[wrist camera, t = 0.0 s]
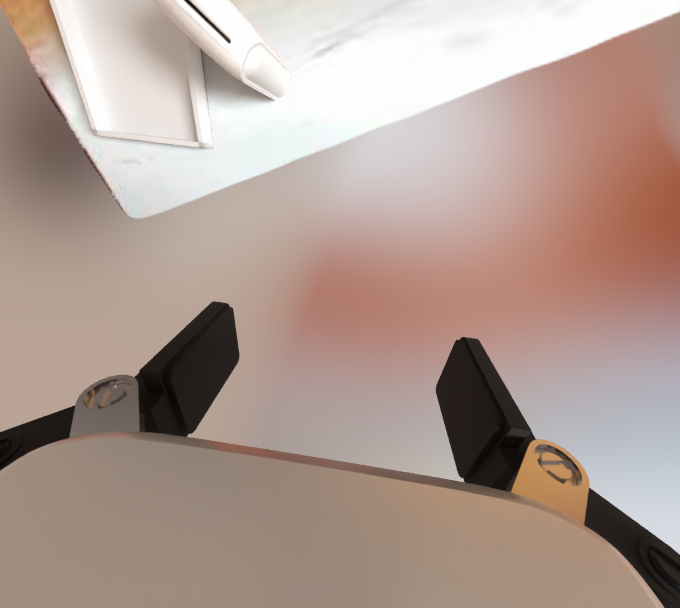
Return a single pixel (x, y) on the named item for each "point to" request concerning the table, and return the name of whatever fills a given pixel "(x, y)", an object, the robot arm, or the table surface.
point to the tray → (135, 71)
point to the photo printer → (231, 43)
